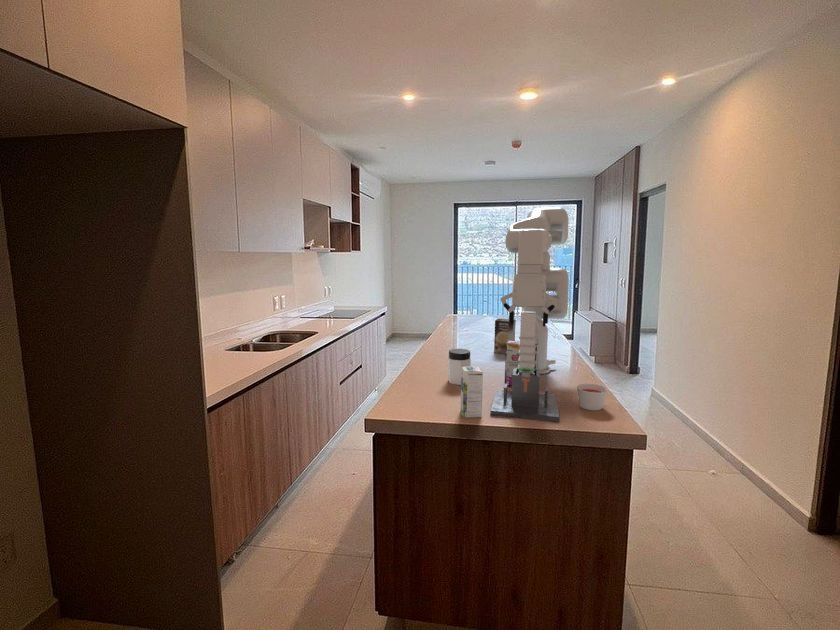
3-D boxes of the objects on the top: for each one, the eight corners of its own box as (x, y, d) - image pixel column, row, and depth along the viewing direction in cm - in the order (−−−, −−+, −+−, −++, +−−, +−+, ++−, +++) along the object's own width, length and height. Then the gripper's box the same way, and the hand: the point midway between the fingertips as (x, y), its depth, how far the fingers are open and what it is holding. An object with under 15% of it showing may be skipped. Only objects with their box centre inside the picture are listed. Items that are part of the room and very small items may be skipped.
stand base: (556, 399, 146) (558, 362, 144) (559, 421, 127) (561, 380, 125) (496, 394, 151) (497, 358, 149) (490, 415, 132) (491, 375, 130)
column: (534, 379, 139) (536, 311, 136) (534, 383, 134) (536, 314, 131) (518, 378, 141) (520, 311, 137) (517, 382, 136) (519, 313, 132)
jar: (456, 386, 159) (456, 354, 157) (443, 380, 166) (443, 350, 164) (475, 382, 164) (475, 351, 162) (461, 377, 171) (462, 347, 169)
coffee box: (493, 352, 210) (494, 320, 207) (496, 350, 215) (497, 318, 213) (512, 354, 206) (513, 321, 203) (515, 351, 212) (516, 319, 209)
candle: (576, 400, 144) (577, 382, 143) (605, 404, 141) (606, 385, 140) (575, 410, 136) (576, 390, 135) (606, 413, 133) (607, 394, 132)
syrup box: (459, 411, 135) (460, 366, 133) (478, 410, 136) (479, 365, 134) (463, 418, 130) (463, 371, 127) (482, 417, 130) (483, 371, 128)
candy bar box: (504, 386, 159) (505, 342, 157) (506, 382, 164) (507, 340, 162) (535, 389, 156) (537, 345, 153) (536, 385, 160) (538, 342, 158)
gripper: (559, 269, 133) (556, 324, 136) (502, 269, 138) (501, 321, 141) (560, 271, 126) (557, 328, 129) (500, 270, 131) (498, 326, 134)
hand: (528, 325), depth 135 cm, fingers open, 9 cm apart
